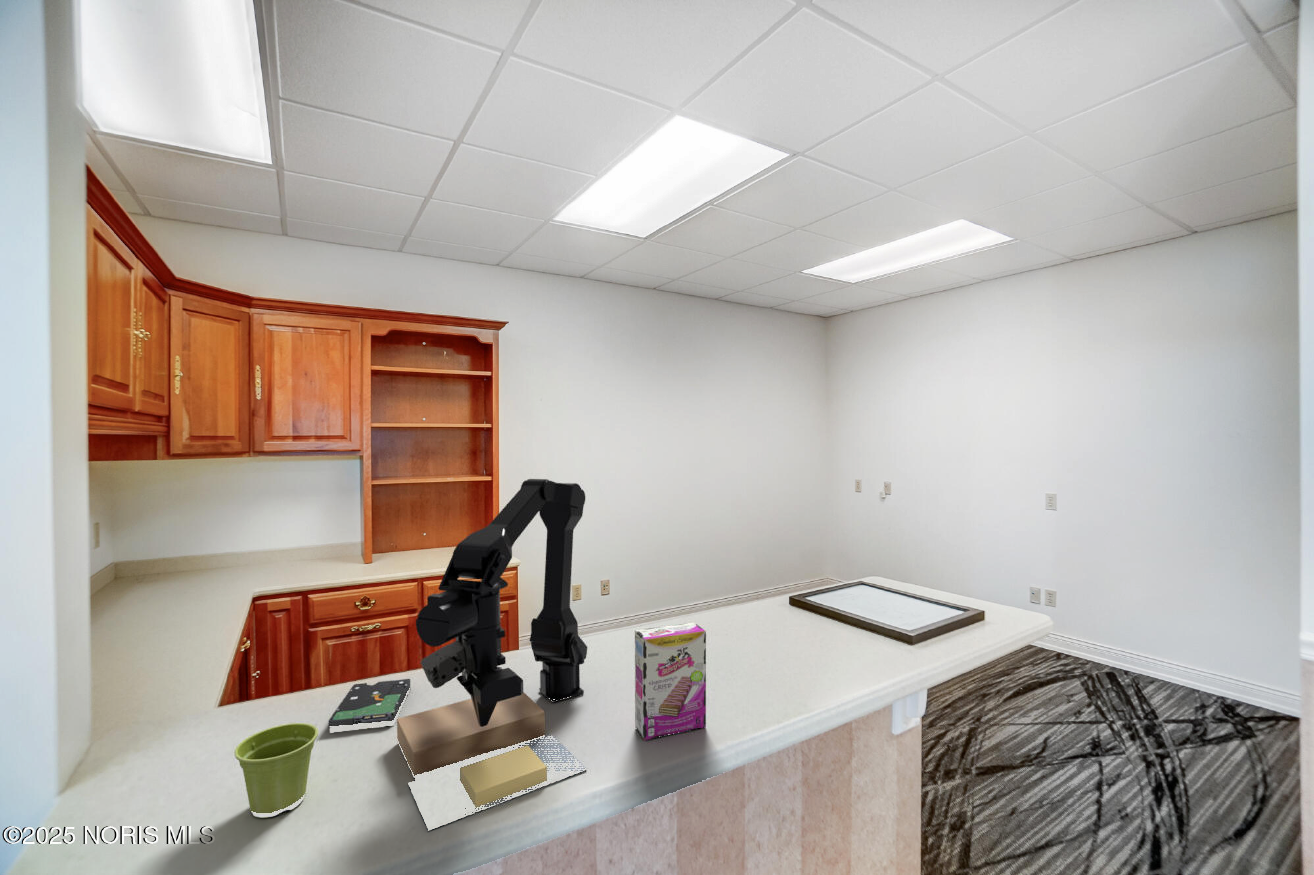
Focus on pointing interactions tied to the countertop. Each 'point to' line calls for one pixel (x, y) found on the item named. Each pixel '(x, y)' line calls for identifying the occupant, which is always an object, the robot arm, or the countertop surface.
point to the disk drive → (371, 703)
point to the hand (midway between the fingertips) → (483, 725)
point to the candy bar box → (670, 679)
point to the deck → (466, 732)
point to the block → (502, 775)
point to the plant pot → (276, 765)
